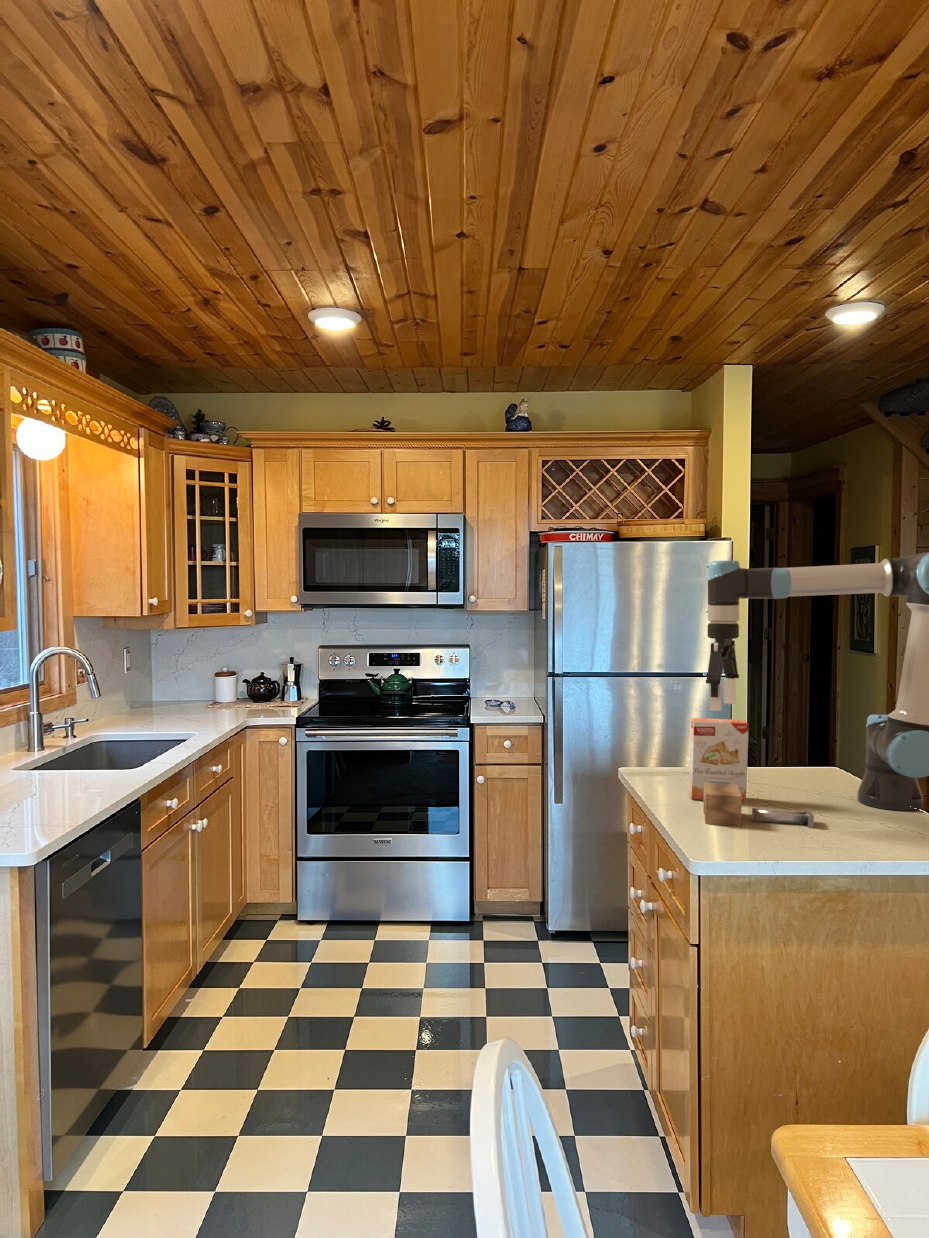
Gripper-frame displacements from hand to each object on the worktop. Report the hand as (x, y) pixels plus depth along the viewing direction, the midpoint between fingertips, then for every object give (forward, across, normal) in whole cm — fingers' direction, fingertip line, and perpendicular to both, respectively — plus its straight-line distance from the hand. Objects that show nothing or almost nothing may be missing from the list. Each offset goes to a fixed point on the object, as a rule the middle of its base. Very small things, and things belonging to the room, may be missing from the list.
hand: (722, 707), depth 210 cm
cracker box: (+26, -8, -3) cm, 27 cm away
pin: (+26, +6, +15) cm, 30 cm away
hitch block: (+25, +10, +2) cm, 27 cm away
